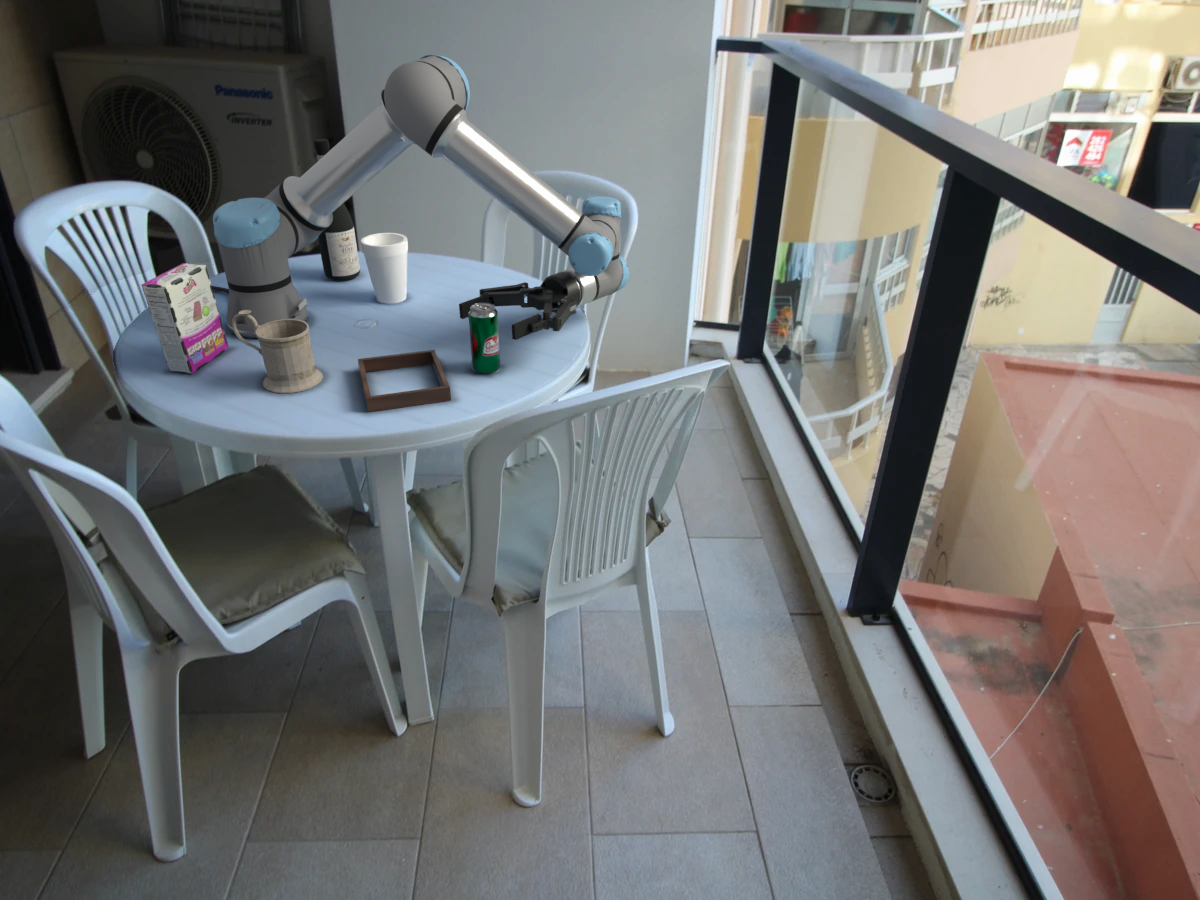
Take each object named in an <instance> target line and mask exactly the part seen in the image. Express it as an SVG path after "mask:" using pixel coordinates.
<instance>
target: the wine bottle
mask: <svg viewBox="0 0 1200 900" xmlns="http://www.w3.org/2000/svg"><path fill="white" fill-rule="evenodd" d="M313 146H314V150H315V154H316V159H317V162H318V161H319V160H320V159H321V158H322V157H323V156H324V155H326V154H327V153H328V152H329V151H330V141H329V140H328V139H327V138H317V139H314V140H313ZM332 214H333V221H332V223H331V224H330V226H328V227H327V228H326V229H325V230H324V231H323V232H321V234H320V235H319V237H318V238H317V241H318V245H319V251H320V257H321V263H322V269H323V273H324V276H325V277H326V278H327V279H328V280H331V281H335V282H346V281H351V280H355V279H356V278H358V277H359V276H360V274H361V266H360V259H359V252H358V246H357V240H356V239H357V238H356V233H355V225H354V222H353V220H352V216H351V214H350V212H349V210H348V208H347V206H346V204H345V202H344V203H343V204H342V205H340V206H339V207H338V208H337V209H336V210H335V211H333V212H332Z"/></svg>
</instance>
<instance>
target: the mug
mask: <svg viewBox="0 0 1200 900" xmlns="http://www.w3.org/2000/svg"><path fill="white" fill-rule="evenodd" d="M238 313H239V314H237V315H235V316H234V317H233V319H232V327H233V330H234V332H235V334H236V335H235V334H234V335H235V336H236V338H237V339H238V340H239V341H240V342H242V344H245V345H246V346H248V347H250V348H252V349H254V350H256V351H257V352H258V353H259V354H260V355H261V356H262V360H263V364H264V369H265V378H264V379H263V381H262V385H263V388H264V389H265V390H267V391H269V392H272V393H275V394H295V393H301V392H304V391H308V390H311V389H312V388H314V387H317V385H319V384H320V383H321V382H322V381H323V379H324V376H323V372H322V371H321V370H319V369H318V368H317V365H316V363H315V357H314V353H313V347H312V342H311V337H310V333H309V331H310V326H309V325H310V324H309V323H306V322H304V321H301V320H295V319H283V320H276V321H272V322H268V323H266V324H263V325H258V324H257V321H256V320H255V318H254V317H252V316H251V315H249V313H251V311H250V310H242V311H240V312H238ZM241 316H245V317H248V318H250V319H251V320H252V322H253V323H254V326H253V330H254V332H256V337H257V338H256V339H258V343H259V346H258V345H256V344H253V343H251V342H249V341H248V340H246V339H245V338H244V337H241V335H240V334H239V332H238V330H237V328H236V323H235V322H236V319H237V318H238V317H241Z"/></svg>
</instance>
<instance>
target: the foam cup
mask: <svg viewBox="0 0 1200 900" xmlns="http://www.w3.org/2000/svg"><path fill="white" fill-rule="evenodd" d="M360 246H361V247H360V248H361V253H362V254H363V256H364V259H365V264H366V267H367V270H368V274H369V278H370V281H371V285H372V288H373V292H374V295H375V298H376V301H377V302H378V303H380V304H384V305H385V304H387V305H393V304H399V303H402V302H404V301H406V300H407V294H408V293H407V292H408V251H409V242H408V237H407V236H406V235H405V234H402V233H397V232H379V233H373V234H367V235H366V236H364V237H362V238H361V240H360Z"/></svg>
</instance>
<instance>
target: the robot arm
mask: <svg viewBox="0 0 1200 900" xmlns="http://www.w3.org/2000/svg"><path fill="white" fill-rule="evenodd" d="M470 99H471V88H470V83H469V80H468V78H467V76H466V73H465V72H464V70H463V69H462V67H460V65H459V64H458V63H457V62H455V61H454V60H453V59H451V58H449V57H447V56H444V55H438V54H426V55H423V56H421V57H420V58H418V59H414V60H412V61H408V62H404V63H402V64H400V65H398V66H397V67H396V68H395V69H394V70H393V71H392V72H391V73H390V74H389V76H388V78H387V79H386V82H385V85H384V88H383V89H382V90H381V92H380V93H379V102H380V105H379V106H377V107H376V108H375V109H374V110H373V111H372V112H370V114H369V115H367V116H366V117H365V118H364V119H363V120H362V121H361V122H360V123H359V124H358V125H356V126H355V127H354V128H353V129H352V130H351V131H350V132H349V133H347V134H346V135H345V136H344V137H342V139H341V140H340V141H338V142H337V143H336V144H335V145H334V146H333V147H332V148H331V149H329V152H328V153H327V154H326V155H324V156H323V157H322V158H321V159H320V160H319V161H318V160H317V162H316V163H314V164H313V165H312V166H311V167H310V168H309V169H308V170H306V172H304V173H303V174H302V175H301V176H295V175H291V176H287V177H286V178H285V179H284V180H283V181H281V183H280V184H279V185H277V186H276V187H275V188H274V189H273V190H272V191H270V192H269V193H268V194H267V195H266V196H264V197H245V198H239V199H237V200H231V201H229V202H225V203H224V204H222V205H220V206H219V207H217V209H216V210H215V211H214V213H213V215H212V224H213V234H214V238H215V240H216V242H217V247H218V251H219V254H220V258H221V263H222V266H223V270H224V275H225V279H226V283H227V287H228V288H227V287H222V286H216V285H215V286H214V285H211V286H212V289H213V291H215V292H222V293H226V294H228V300H227V308H226V309H227V310H226V324H227V329H228V331H229V332H230V333H231V334H232V335H235V336H236V334H235V332H234V330H233V327H232V319H233V317H234V316H235V315H237V314H239V313H238V312H240V311H242V310H250V311H251V313H249V315H251V316H252V317H254V318H255V320H256V321H257V324H258V325H263V324H266V323H268V322H272V321H276V320H283V319H295V320H301V321H304V322H306V323H307V324H309V321H310V316H309V311H308V308H307V304H308V303H307V302H308V301H307V298H304V299H302V297H301V296H300V294H299V292H298V290H297V288H296V287H295V285H294V283H293V279H292V278H293V277H292V274H291V269H290V264H289V263H290V262H289V258H292V256H293V255H295V254H296V253H298V252H299V251H301V250H302V249H304V248H306V247H307V246H310V244H313V243H314V242H315V241H316V240H318V237H319V235H320V234H321V232H323V231H324V230H325V229H326V228H327V227H328V226H330V224H331V223H332V221H333V214H332V212H333V211H335V210H336V209H337V208H338V207H339V206H340V205H342V204H343V203H344V204H345V202H347V201H348V200H349V199H350V198H351V197H352V196H353V195H355V194H356V193H357V192H358V191H359V190H360V189H362V188H363V187H365V185H367V183H369V182H370V181H371V180H373V178H375V176H377V175H378V174H379V173H380V172H382V171H383V170H384V169H385V168H386V167H387V166H389V165H390V164H391V163H392V162H394V160H396V159H397V158H398V157H399V156H400V155H402V154H403V153H404V152H405V151H406V150H407V149H408V148H409V147H411V146H412V145H416V146H418V147H419V148H420V149H422V150H423V151H424V152H425V153H427V154H428V155H429V156H431V157H432V158H433V159H435V158H440V157H441V158H443V159H444V160H445V161H447V162H448V163H449V164H450V165H452V166H453V167H454V168H456V169H457V170H458V171H459V172H461V173H462V174H463V175H464V176H465V177H467V178H468V179H469V180H471V181H472V182H473V183H474V184H476V185H477V186H479V187H480V188H481V189H482V190H484V191H485V192H486V193H488V195H490V196H491V197H493V198H494V199H495V200H496V201H498V202H499V203H500V204H502V205H503V206H504V207H505V208H507V209H508V210H509V211H511V212H512V213H513V214H514V215H516V216H517V217H518V218H520V219H521V220H522V221H523V222H525V223H526V224H527V225H528V226H530V227H531V228H532V229H533V230H535V232H537V233H539V234H540V235H541V236H542V237H544V238H545V239H546V240H548V241H549V242H550V243H551V244H552V245H554V246H555V247H557V248H558V249H559V250H560V251H561V252H563V253H564V254H565V255H566V256H568V261H569V264H570V266H571V267H569V268H567V269H564V270H562V271H559V272H557V273H554V274H553V273H552V274H551V275H548V276H546V277H545V278H544V279H543V281H542V283H541V284H540V286H534V287H529V283H528V282H521V283H517V284H512V285H504V286H494V287H487V288H480V289H479V296H477V297H474V298H471V299H468V300H465V301H464V302H461V303H458V310H459V318H460V319H461V320H464V319H467V318H469V315H468V313H469V311H470V307H471V306H472V305H473V304H476V303H490V304H493V305H494V306H495V307H518V306H520V307H521V308H522V309H531V308H533V309H536V310H538V311H542V314H540V313H537V314H535V315H532V316H529V317H526V318H524V319H522V320H519V321H517V322H514V323H512V324H511V339H512V340H514V341H517V340H519V339H521V338H524V337H526V336H529V335H531V334H534V333H537V332H539V331H542V330H546V331H547V330H550V329H552V331H553V332H560V331H561V329H562V328H563V326H564V325H565V324H566V322H567V321H568V319H570V317H571V316H573V315H575V314H577V309H578V308H580V307H582V306H584V305H586V304H589V303H591V302H594V301H596V300H599V299H602V298H605V297H608V296H611V295H614V293H617V292H618V291H620V290H622V289H623V288H625V287H626V285H627V284H628V282H629V280H630V276H631V275H630V269H629V266H628V262H627V260H625V258H624V257H623V256H622V255H620V243H621V225H622V224H621V222H622V204H621V202H620V201H619V200H618V199H617V198H614V197H611V196H604V195H603V196H602V195H601V196H600V195H598V196H597V195H596V196H591V197H587V198H586V199H584V200H583V202H582V207H581V208H582V209H581V210H582V211H581V210H580V209H578V208H577V207H576V206H574V205H573V204H572V203H571V202H570V201H569V200H567V199H566V198H565V197H563V196H562V195H561V194H560V193H558V192H557V191H556V190H555V189H554V188H552V187H551V185H548V184H547V183H546V182H545V181H544V180H542V179H541V178H540V177H539V176H537V175H536V174H535V173H534V172H532V171H531V170H530V169H529V168H528V167H526V166H525V165H524V164H523V163H521V162H520V161H519V160H517V158H515V157H514V156H513V155H511V154H510V153H509V152H508V151H506V150H505V149H504V148H503V147H501V146H500V145H499V144H498V143H497V142H495V141H494V140H493V139H492V138H491V137H489V136H488V135H487V134H486V133H484V132H483V131H482V130H481V129H479V128H478V127H476V126H475V124H473V122H471V121H470V120H469V119H468V116H467V111H466V110H467V109H468V107H469V103H470ZM525 299H526V301H525ZM553 314H554V315H553ZM235 323H236V328H237V330H238V332H239V334H240V335H241V337H242V338H247V339H258V338H257V337H256V332H254V330H253V326H254V323H253V322H252V320H251V319H250V318H248V317H245V316H241V317H238V318H237V319H236V322H235Z"/></svg>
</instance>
